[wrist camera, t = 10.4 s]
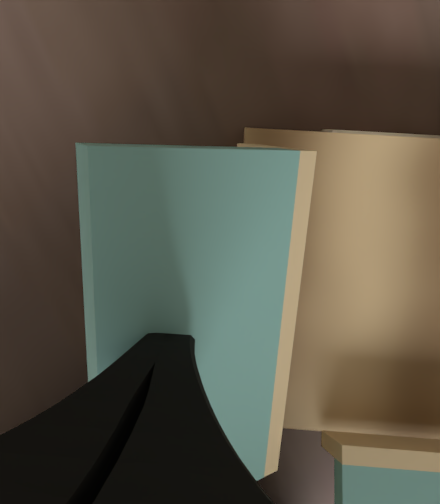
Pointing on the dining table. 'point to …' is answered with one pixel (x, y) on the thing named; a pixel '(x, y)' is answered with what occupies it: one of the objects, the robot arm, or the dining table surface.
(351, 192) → the carton
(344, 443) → the side flap
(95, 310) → the end flap
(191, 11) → the dining table surface
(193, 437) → the robot arm
